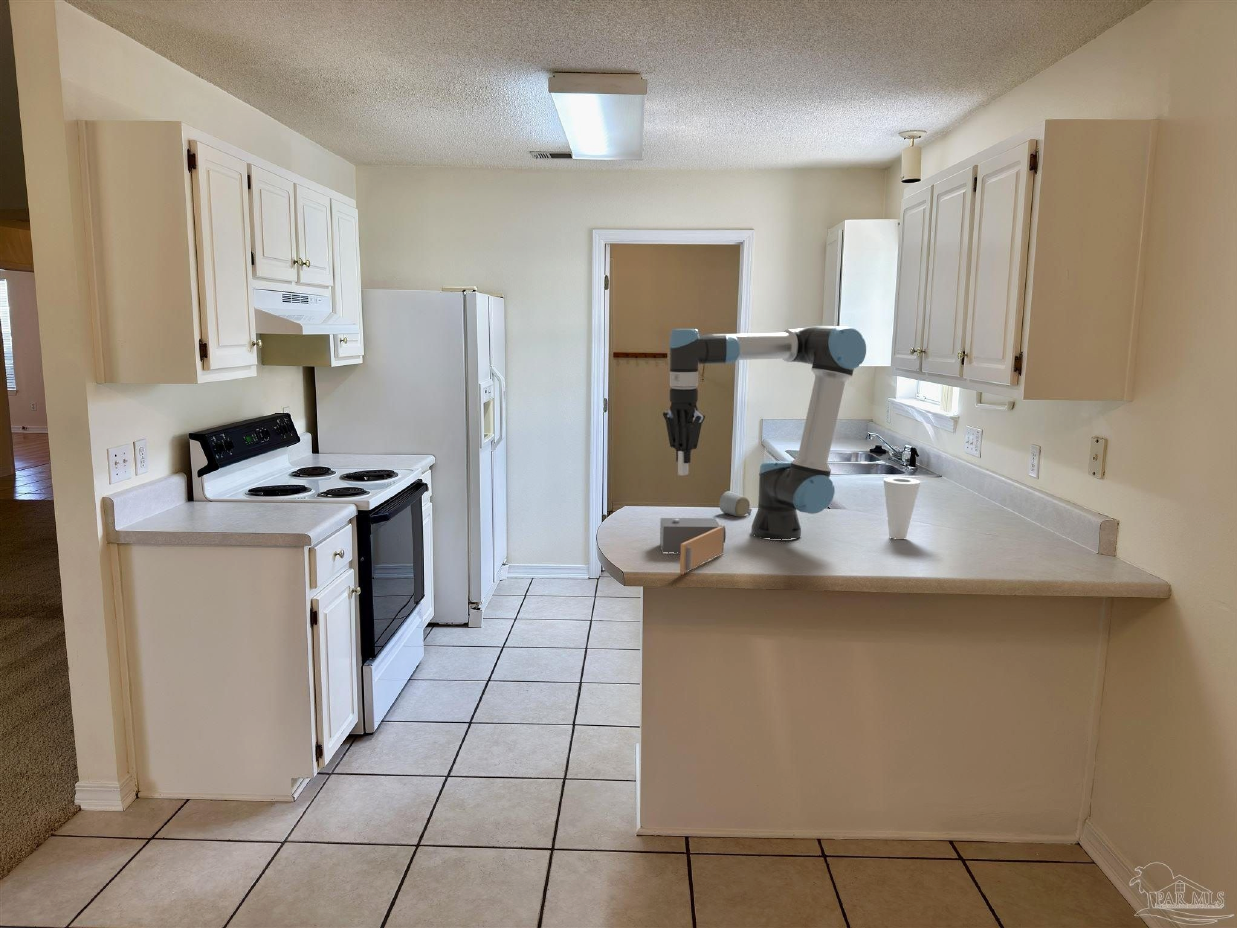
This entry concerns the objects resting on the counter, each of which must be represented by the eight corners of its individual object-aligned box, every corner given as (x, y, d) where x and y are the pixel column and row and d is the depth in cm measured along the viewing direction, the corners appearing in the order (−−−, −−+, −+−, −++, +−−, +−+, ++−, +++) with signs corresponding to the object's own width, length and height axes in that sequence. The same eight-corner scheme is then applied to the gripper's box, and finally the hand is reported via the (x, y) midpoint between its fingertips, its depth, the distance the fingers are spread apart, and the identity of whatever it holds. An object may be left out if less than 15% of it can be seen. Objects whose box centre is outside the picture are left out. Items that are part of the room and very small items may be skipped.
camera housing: (720, 544, 246) (721, 515, 244) (726, 554, 236) (727, 524, 234) (659, 544, 245) (660, 515, 243) (662, 554, 235) (663, 523, 234)
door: (720, 553, 236) (721, 525, 234) (726, 554, 235) (728, 526, 233) (679, 573, 216) (680, 543, 215) (686, 575, 215) (687, 545, 214)
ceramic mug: (735, 518, 278) (737, 496, 276) (718, 514, 284) (719, 492, 283) (757, 515, 284) (758, 493, 283) (739, 510, 291) (740, 488, 289)
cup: (901, 532, 263) (905, 476, 260) (923, 541, 253) (928, 483, 250) (872, 534, 260) (876, 477, 257) (893, 543, 250) (897, 484, 247)
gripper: (656, 387, 224) (656, 473, 228) (694, 390, 215) (693, 479, 219) (674, 385, 229) (673, 469, 233) (711, 387, 220) (710, 475, 225)
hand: (683, 474), depth 226 cm, fingers closed
